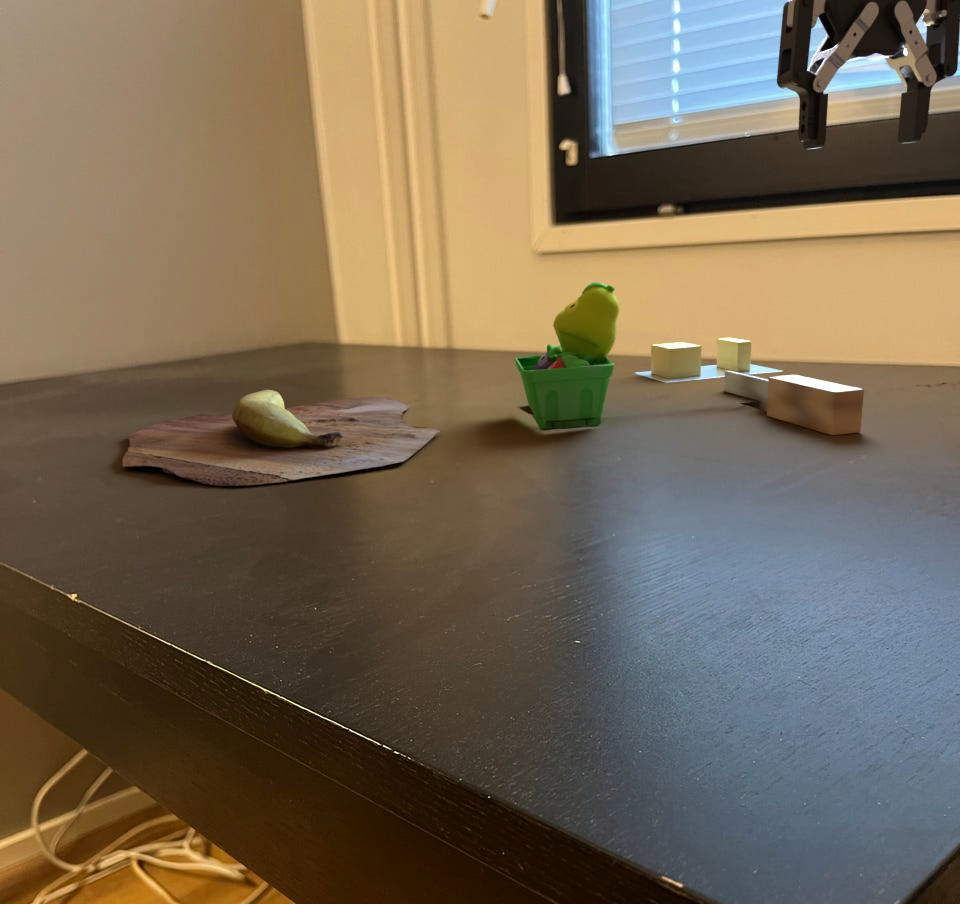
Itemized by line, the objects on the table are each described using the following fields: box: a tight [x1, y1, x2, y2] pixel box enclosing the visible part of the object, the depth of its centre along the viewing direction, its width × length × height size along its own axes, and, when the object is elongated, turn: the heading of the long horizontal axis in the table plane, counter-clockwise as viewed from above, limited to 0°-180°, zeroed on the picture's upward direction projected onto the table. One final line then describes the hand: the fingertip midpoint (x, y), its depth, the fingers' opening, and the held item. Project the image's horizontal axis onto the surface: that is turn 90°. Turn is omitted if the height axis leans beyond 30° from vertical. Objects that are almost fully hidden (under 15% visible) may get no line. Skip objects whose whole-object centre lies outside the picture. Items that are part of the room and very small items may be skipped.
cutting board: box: [122, 389, 442, 487], centre depth 86 cm, size 35×27×4 cm
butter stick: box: [650, 341, 702, 379], centre depth 103 cm, size 4×5×3 cm
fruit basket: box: [514, 281, 621, 430], centre depth 85 cm, size 11×9×11 cm
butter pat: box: [716, 337, 752, 372], centre depth 104 cm, size 2×5×3 cm, turn 13°
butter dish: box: [633, 363, 783, 384], centre depth 104 cm, size 13×9×1 cm
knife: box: [723, 370, 865, 436], centre depth 82 cm, size 20×2×3 cm, turn 13°
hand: (862, 145), depth 79 cm, fingers open, 8 cm apart
